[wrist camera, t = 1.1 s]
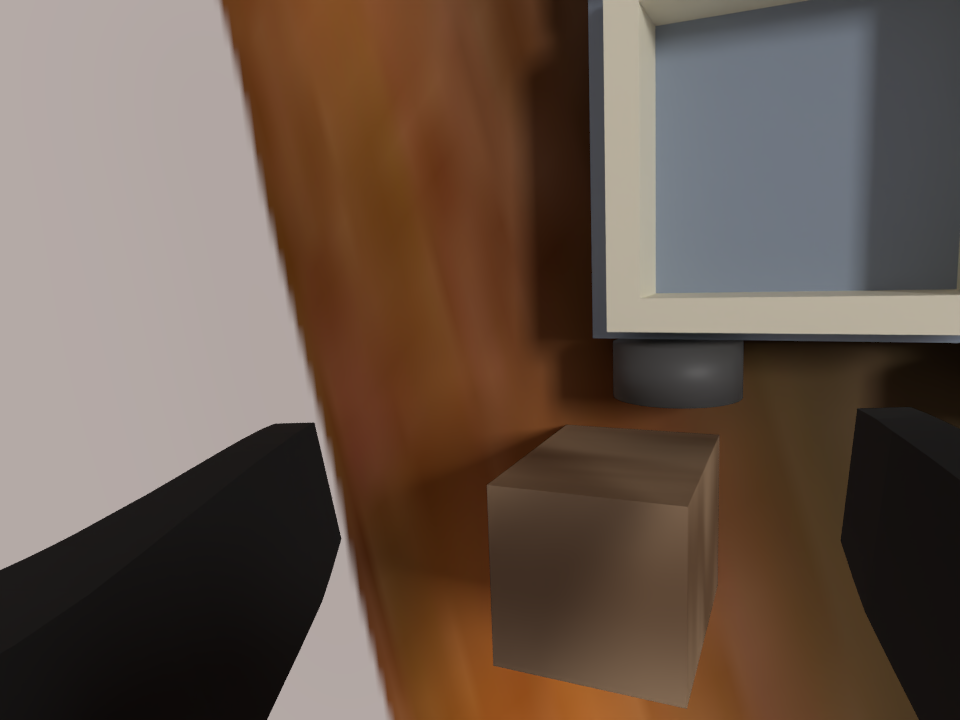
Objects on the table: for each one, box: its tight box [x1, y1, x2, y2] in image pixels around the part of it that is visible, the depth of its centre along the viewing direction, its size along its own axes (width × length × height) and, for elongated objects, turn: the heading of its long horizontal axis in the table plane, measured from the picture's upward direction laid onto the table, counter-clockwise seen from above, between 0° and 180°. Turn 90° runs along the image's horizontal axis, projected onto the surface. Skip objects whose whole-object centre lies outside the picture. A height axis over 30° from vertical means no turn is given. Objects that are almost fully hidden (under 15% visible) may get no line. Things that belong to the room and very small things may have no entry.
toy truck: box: [588, 0, 960, 408], centre depth 16 cm, size 12×13×3 cm
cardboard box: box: [487, 425, 719, 709], centre depth 18 cm, size 4×4×6 cm
